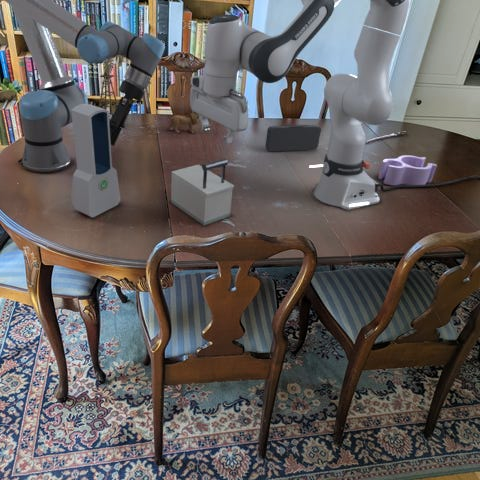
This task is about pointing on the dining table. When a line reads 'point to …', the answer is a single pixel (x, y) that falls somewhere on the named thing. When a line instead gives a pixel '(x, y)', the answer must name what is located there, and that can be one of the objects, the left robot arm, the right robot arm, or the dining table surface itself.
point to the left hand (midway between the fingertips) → (106, 145)
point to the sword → (384, 137)
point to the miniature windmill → (106, 76)
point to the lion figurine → (185, 121)
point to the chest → (200, 202)
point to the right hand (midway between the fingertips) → (216, 136)
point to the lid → (205, 177)
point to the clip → (406, 171)
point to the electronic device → (93, 162)
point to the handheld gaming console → (292, 137)
